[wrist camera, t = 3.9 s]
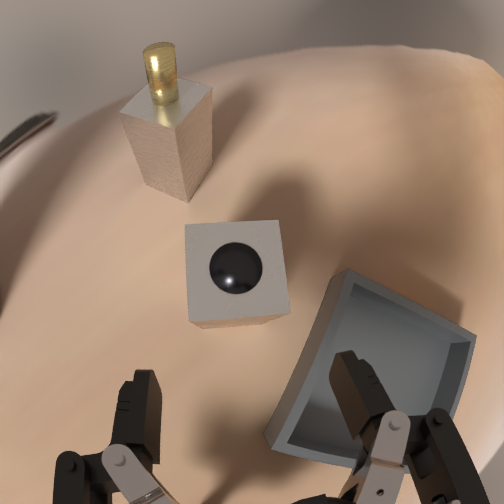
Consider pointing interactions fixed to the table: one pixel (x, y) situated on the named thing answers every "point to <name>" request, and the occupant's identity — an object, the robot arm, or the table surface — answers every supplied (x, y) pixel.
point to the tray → (378, 356)
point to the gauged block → (170, 126)
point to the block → (235, 273)
